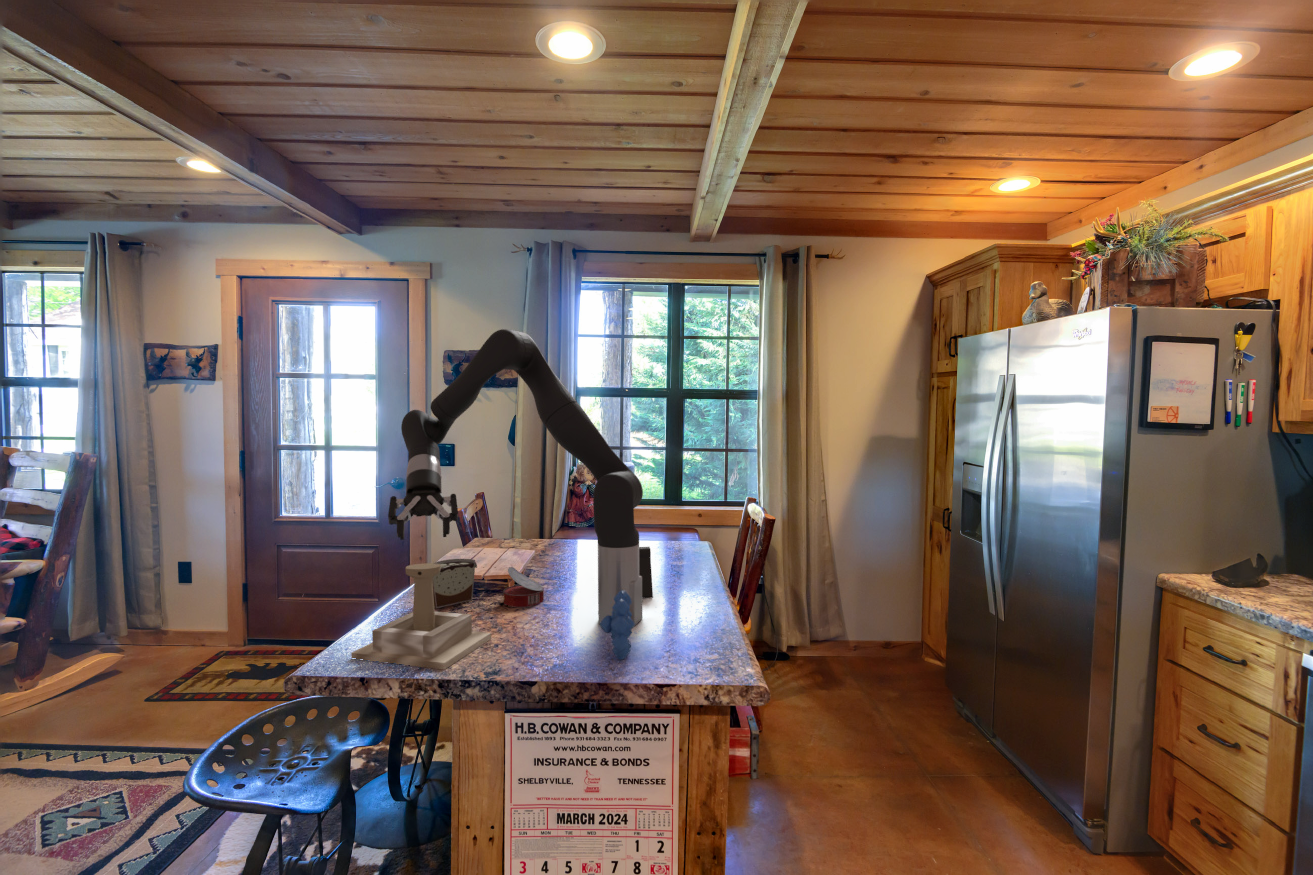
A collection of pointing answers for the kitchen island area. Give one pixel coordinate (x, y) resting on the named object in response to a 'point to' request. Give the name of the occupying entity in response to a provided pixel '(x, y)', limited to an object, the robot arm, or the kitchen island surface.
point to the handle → (423, 595)
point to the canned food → (523, 591)
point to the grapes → (619, 624)
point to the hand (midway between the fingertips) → (423, 536)
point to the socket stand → (424, 642)
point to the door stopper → (645, 571)
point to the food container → (454, 582)
